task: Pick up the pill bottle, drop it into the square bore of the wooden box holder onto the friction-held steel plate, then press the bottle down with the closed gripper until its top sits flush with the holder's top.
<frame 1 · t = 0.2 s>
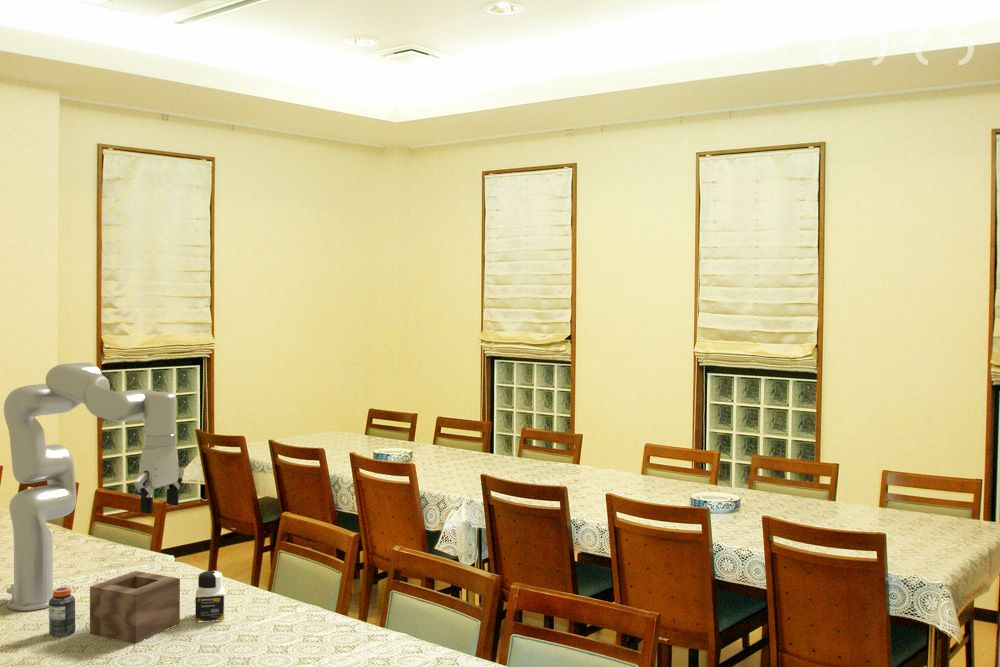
hand: (159, 508, 235), 31 cm above the table, tool pointing down, fingers open, 9 cm apart
wooden box holder: (135, 629, 236), on the table
pill bottle: (62, 634, 232), on the table
medicine bottle: (210, 618, 246), on the table
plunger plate: (135, 599, 236), point 7 cm above the table, slide at 0.0 cm
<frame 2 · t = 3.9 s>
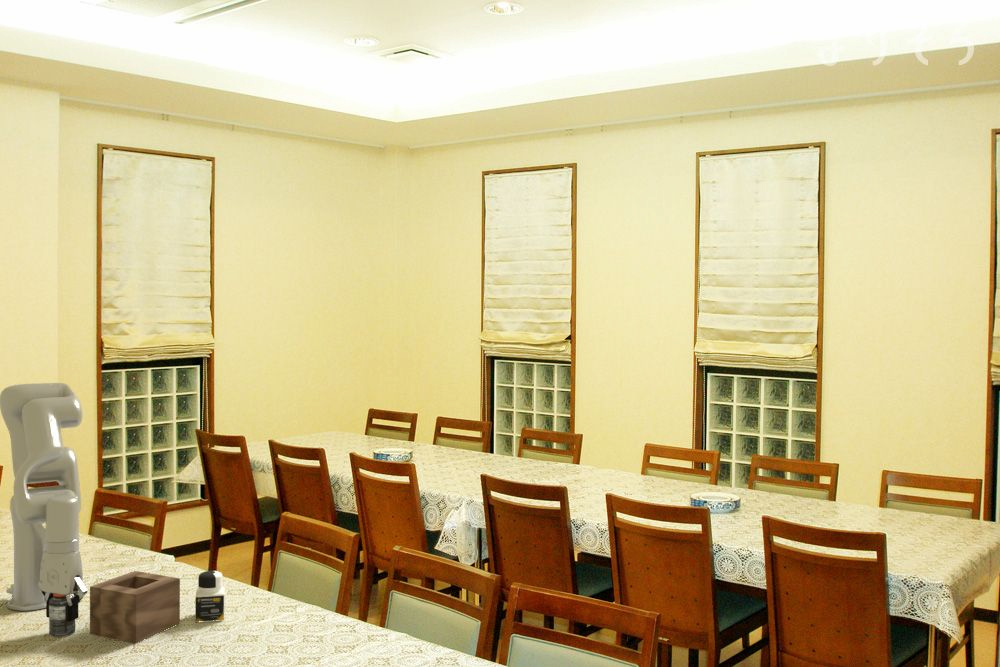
hand: (62, 617, 232), 4 cm above the table, tool pointing down, fingers closed on pill bottle, 6 cm apart
pill bottle: (62, 634, 232), on the table, touching gripper
everything else where it was.
when the fingers open (13 cm above the table, at t = 9.7 s): pill bottle drops 8 cm, resting on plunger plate.
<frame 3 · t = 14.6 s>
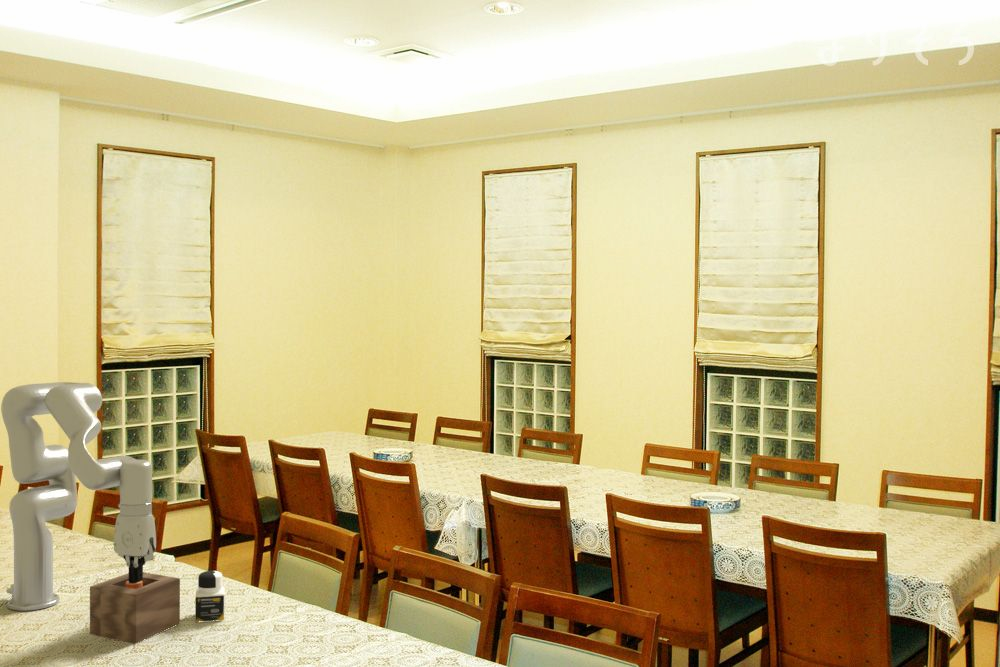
hand: (135, 581, 236), 12 cm above the table, tool pointing down, fingers closed
pill bottle: (134, 626, 236), point 1 cm above the table, touching gripper, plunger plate
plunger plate: (135, 627, 236), resting in wooden box holder, slide at 7.1 cm, touching pill bottle
everything else where it was.
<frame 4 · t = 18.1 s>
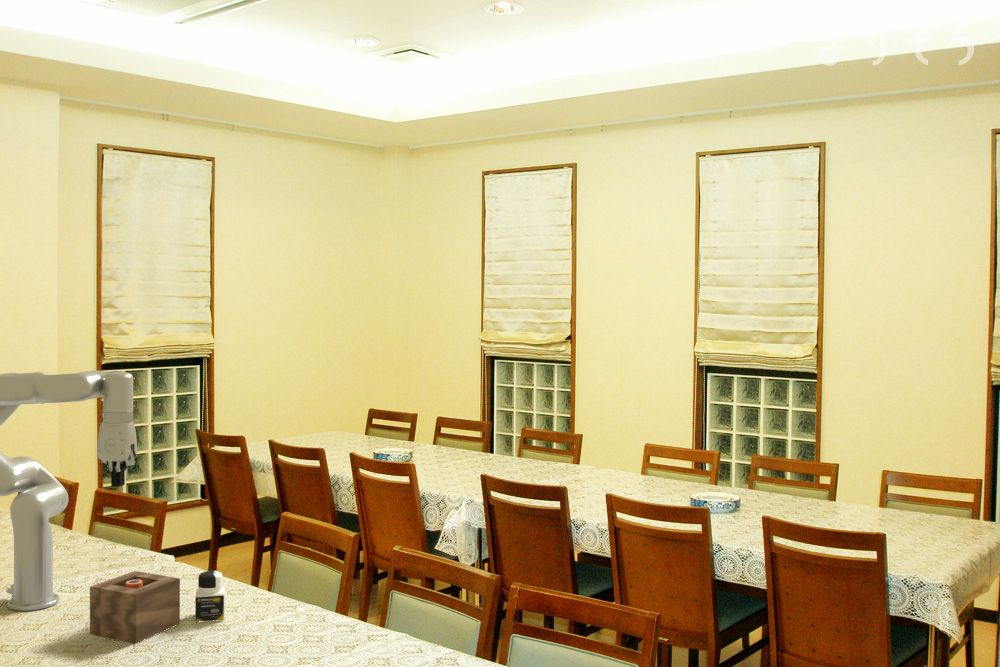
hand: (117, 485, 252), 33 cm above the table, tool pointing down, fingers closed
pill bottle: (134, 626, 236), point 1 cm above the table, touching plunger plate
everything else where it was.
at the end: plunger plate slide at 7.1 cm; pill bottle 0.4 cm off-centre on the wooden box holder, point 0.7 cm above the wooden box holder's base; pill bottle tilted 0° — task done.
